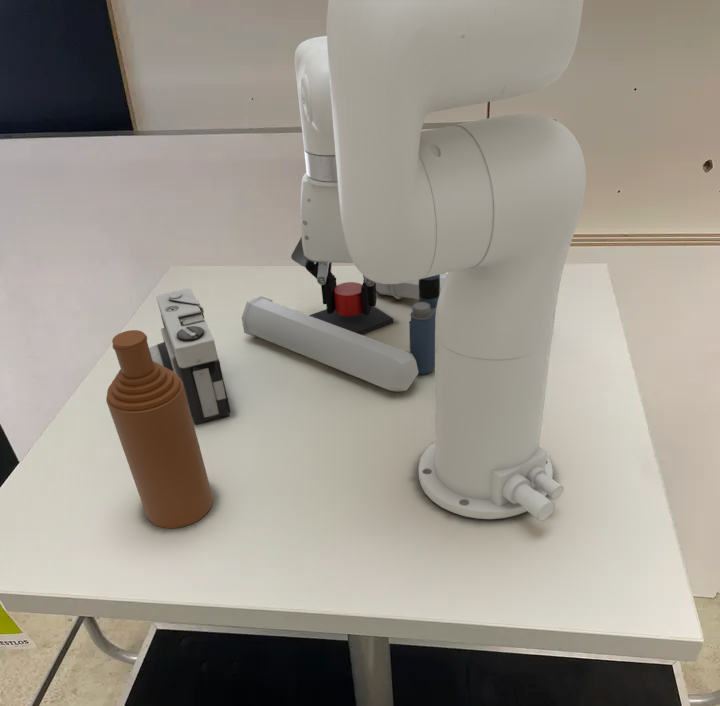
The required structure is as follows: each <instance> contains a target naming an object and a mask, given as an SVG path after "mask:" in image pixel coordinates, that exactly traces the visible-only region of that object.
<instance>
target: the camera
mask: <svg viewBox="0 0 720 706" xmlns="http://www.w3.org/2000/svg"><path fill="white" fill-rule="evenodd" d="M155 298H156V302H157V305H158V309H159V313H160V317H161V322H162V325H163V328H160V331H161V332H160V333H161V336H162V339H163V340H162V342H160V343H157V344H155V345H152V346H150V347H149V350H150V353H151V357H152V360H153V361H154V362H156V363H157V364H160V365H162V366H163V367H166V368H168V369H169V370H171V371H173V372H175V373H176V374H177V375H178V377H179V378H180V379H181V380H182V382H183V386H184V389H185V393H186V397H187V401H188V405H189V408H190V412H191V416H192V420H193V424H195V425H200V424H204V423H207V422H211V421H215V420H220V419H222V418H223V419H224V418H227V417H229V416H230V413H231V409H230V403H229V399H228V394H227V389H226V384H225V380H224V376H223V371H222V367H221V362H220V359H219V356H218V351H217V346H216V342H215V338H214V337H213V334H212V332H211V330H210V327H209V325H208V323H207V321H206V319H205V315H204V313H205V310H204V306H202V305H201V303H200V301H199V300H197V299H196V297H195V295H194V292H193V290H192V289H191V287H187V288H183V289H178V290H175V291H174V290H173V291H169V292H164V293H160V294H157V295H156V297H155Z"/></svg>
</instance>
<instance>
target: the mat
mask: <svg viewBox="0 0 720 706" xmlns="http://www.w3.org/2000/svg"><path fill="white" fill-rule="evenodd" d="M309 316H311V317H314V318H317V319H319V320H322V321H325V322H328V323H330V324H333V325H336V326H338V327H341V328H344V329H347V330H349V331H352V332H355V333H357V334H360V335H363V334H366V333H369V332H371V331H374V330H378V329H380V328H382V327H385V326H387V325H390V324H393V323H394V318H393V317H391V316H390V315H388V314H387V313H385V312H384V311H382V310H380V309H379V308H377V307H376V306H372V308H371V311H370V313H369V315H364V314H363V313H361V314H359V315H355V316H342V315H340V314H338V313H337V312H336V310H335V311H334V313H332V314H328V313H327V308H326V309H322V310H320V311H317V312H315V313H311V314H310V315H309Z"/></svg>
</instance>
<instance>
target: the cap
mask: <svg viewBox="0 0 720 706" xmlns="http://www.w3.org/2000/svg"><path fill="white" fill-rule="evenodd" d="M362 284H363V283H359V282H355V281H347V282H343V283H339V284H337V286H336V287H335V288H334V299H335V310H336V312H337V313H338V314H340V315H342V316H355V315H359V314H361V313H363V309H362V295H361V287H362Z"/></svg>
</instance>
